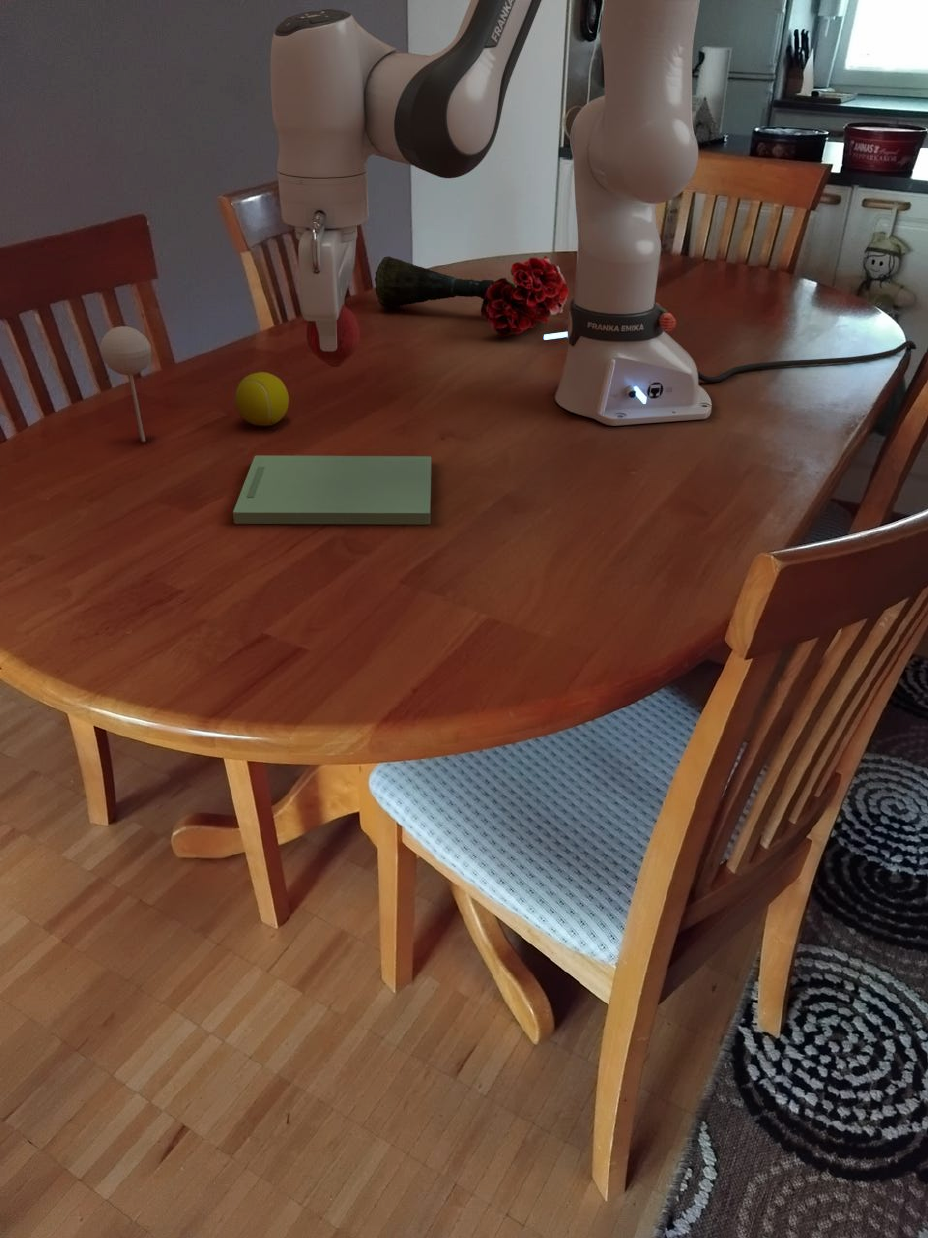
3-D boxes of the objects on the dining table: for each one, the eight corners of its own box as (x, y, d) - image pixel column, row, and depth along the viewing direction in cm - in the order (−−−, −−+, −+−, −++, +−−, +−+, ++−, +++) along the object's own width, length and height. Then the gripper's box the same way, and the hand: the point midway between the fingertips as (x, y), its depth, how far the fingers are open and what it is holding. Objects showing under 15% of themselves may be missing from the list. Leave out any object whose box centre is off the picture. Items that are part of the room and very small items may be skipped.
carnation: (387, 350, 177) (566, 365, 166) (347, 305, 160) (544, 318, 149) (404, 272, 179) (583, 281, 168) (366, 219, 161) (563, 225, 150)
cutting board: (431, 467, 118) (431, 455, 117) (430, 524, 106) (429, 512, 105) (256, 466, 118) (254, 454, 117) (234, 524, 105) (232, 511, 104)
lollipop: (176, 435, 125) (157, 323, 116) (150, 453, 120) (128, 337, 112) (136, 429, 127) (114, 317, 118) (109, 446, 122) (84, 331, 113)
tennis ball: (274, 437, 125) (269, 386, 121) (229, 429, 127) (222, 379, 123) (299, 418, 130) (295, 369, 126) (255, 410, 132) (250, 362, 128)
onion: (352, 378, 101) (348, 303, 97) (301, 373, 102) (295, 299, 98) (367, 360, 106) (364, 288, 101) (319, 356, 107) (313, 284, 102)
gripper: (346, 225, 86) (354, 371, 94) (362, 183, 103) (367, 311, 111) (277, 224, 86) (290, 371, 94) (305, 182, 103) (314, 310, 111)
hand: (332, 338), depth 102 cm, fingers closed on onion, 6 cm apart
